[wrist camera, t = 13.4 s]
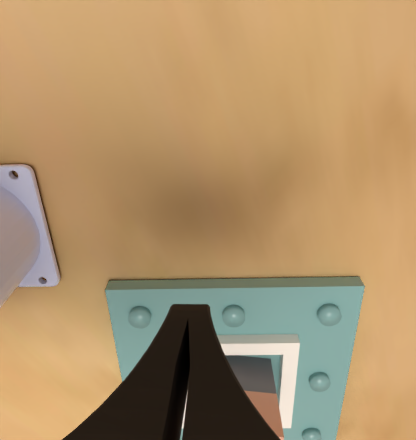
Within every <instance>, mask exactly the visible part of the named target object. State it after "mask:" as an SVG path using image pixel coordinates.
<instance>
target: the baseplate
mask: <svg viewBox="0 0 416 440" xmlns="http://www.w3.org/2000/svg"><path fill="white" fill-rule="evenodd" d="M364 288H365V286H364V284H363V282H362V281H361V279H360V277H303V278H239V279H176V280H112V281H109V282H108V284H107V287H106V289H105V292H106V298H107V303H108V308H109V313H110V319H111V324H112V329H113V335H114V340H115V345H116V351H117V356H118V361H119V367H120V372H121V377H122V382H123V381H124V379H125V378H126V377H127V376H128V375H129V373H130V372H131V371H132V370H133V368H134V367H135V366H136V364H137V363H138V361H139V360H140V359H141V357H142V356H143V354H144V353H145V352H146V350H147V349H148V347H149V346H150V344H151V342H152V341H153V339H154V337H155V336H156V334H157V333H158V331H159V329H160V327H161V325H162V324H163V322H164V320H165V318H166V316H167V314H168V311H169V309H170V306H172V305H173V304H208V305H209V306H210V311H211V317H212V321H213V325H214V328H215V331H216V334H217V337H218V339H219V342H220V344H221V347H222V349H223V352H224V354H225V355H239V356H249V357H259V358H269V359H271V364H272V369H273V375H274V381H275V387H276V393H277V399H278V404H279V410H280V416H281V422H282V428H283V434H284V440H336V435H337V430H338V425H339V419H340V414H341V409H342V404H343V398H344V393H345V388H346V383H347V377H348V372H349V367H350V361H351V356H352V351H353V346H354V340H355V335H356V330H357V325H358V319H359V314H360V309H361V303H362V298H363V293H364ZM187 393H188V391H187ZM186 402H187V398H186ZM185 411H186V404H185V410H184V417H183V423H182V430H181V437H180V440H182V436H183V428H184V419H185Z"/></svg>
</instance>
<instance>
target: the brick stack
mask: <svg viewBox="0 0 416 440" xmlns="http://www.w3.org/2000/svg"><path fill="white" fill-rule="evenodd" d="M225 356H226V358H227V360H228V362H229V364H230V366H231V368H232V370H233V372H234V374H235V376H236V378H237V379H238V381H239V383H240V385H241V386H242V388H243V390H244V391H245V393H246V394H247V396H248V397H249V399H250V400H251V402H252V403H253V405H254V406H255V407H256V409H257V410H258V412H259V413H260V414H261V416H262V417H263V418H264V420H265V421H266V422H267V424H268V425H269V426H270V427H271V429H272V430H273V431H274V432H275V434H276V435H277V436H278V437H279V438H280V439H281V440H284V434H283V428H282V422H281V416H280V410H279V404H278V399H277V393H276V387H275V381H274V375H273V369H272V364H271V359H269V358H259V357H249V356H239V355H225Z"/></svg>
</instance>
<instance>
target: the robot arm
mask: <svg viewBox="0 0 416 440" xmlns="http://www.w3.org/2000/svg"><path fill="white" fill-rule="evenodd" d="M12 171H15V172H17V174H18V177H15V176H14V175H13V174H12ZM41 277H44V278H45V279H46V280H43V279H42V278H41ZM59 281H60V274H59V270H58V266H57V262H56V258H55V254H54V250H53V246H52V242H51V238H50V234H49V230H48V226H47V222H46V218H45V214H44V210H43V206H42V202H41V198H40V194H39V190H38V186H37V182H36V178H35V174H34V171H33V169H32V168H31V167H30V166H28V165H25V164H10V165H0V308H1V307H2V305H3V304H4V303H5V302H6V300H7V299H8V298H9V297H10V295H11V294H12V293H13V291H14V290H15V289H16V288H17V287H52V286H56V285H57V284H58V283H59ZM187 391H188V393H187ZM186 398H187V402H186ZM185 404H186V411H185V419H184V428H183V436H182V440H281V439H280V438H279V437H278V436H277V435H276V434H275V432H274V431H273V430H272V429H271V427H270V426H269V425H268V424H267V422H266V421H265V420H264V418H263V417H262V416H261V414H260V413H259V412H258V410H257V409H256V407H255V406H254V405H253V403H252V402H251V400H250V399H249V397H248V396H247V394H246V393H245V391H244V390H243V388H242V386H241V385H240V383H239V381H238V379H237V378H236V376H235V374H234V372H233V370H232V368H231V366H230V364H229V362H228V360H227V358H226V356H225V354H224V352H223V349H222V347H221V344H220V342H219V339H218V337H217V334H216V331H215V328H214V325H213V321H212V317H211V311H210V306H209V305H208V304H173V305H172V306H170V309H169V311H168V314H167V316H166V318H165V320H164V322H163V324H162V325H161V327H160V329H159V331H158V333H157V334H156V336H155V337H154V339H153V341H152V342H151V344H150V346H149V347H148V349H147V350H146V352H145V353H144V354H143V356H142V357H141V359H140V360H139V361H138V363H137V364H136V366H135V367H134V368H133V370H132V371H131V372H130V373H129V375H128V376H127V377H126V378H125V379H124V381H123V382H122V383H121V384H120V385H119V386H118V388H117V389H116V390H115V391H114V392H113V393H112V394H111V395H110V396H109V397H108V398H107V400H106V401H105V402H104V403H103V404H102V405H101V406H100V407H99V408H98V409H97V410H95V411H94V412H93V413H92V414H91V415H90V416H89V417H88V418H87V419H86V420H85V421H83V422H82V423H81V424H80V425H79V426H78V427H77V428H76V429H75V430H73V431H72V432H71V433H70V434H68V435H67V436H66V437H65V438H63V439H62V440H180V437H181V430H182V423H183V417H184V410H185Z"/></svg>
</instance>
